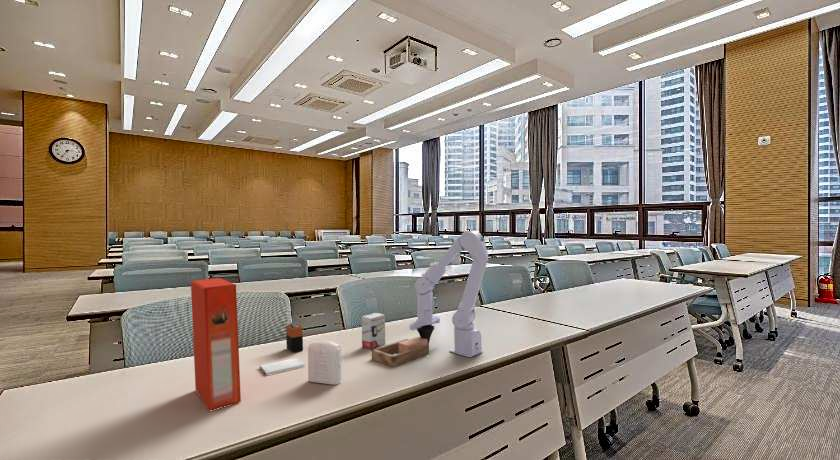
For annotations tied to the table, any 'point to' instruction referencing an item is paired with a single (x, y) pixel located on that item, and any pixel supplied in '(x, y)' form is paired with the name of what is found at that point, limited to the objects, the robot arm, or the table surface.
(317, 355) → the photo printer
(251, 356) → the table surface
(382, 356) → the tray
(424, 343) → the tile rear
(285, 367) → the hard drive
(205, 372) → the file binder
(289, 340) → the battery
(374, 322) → the ink box
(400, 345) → the tile front
